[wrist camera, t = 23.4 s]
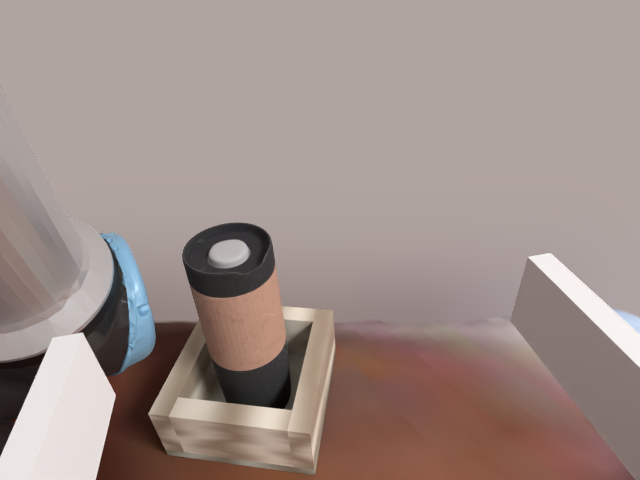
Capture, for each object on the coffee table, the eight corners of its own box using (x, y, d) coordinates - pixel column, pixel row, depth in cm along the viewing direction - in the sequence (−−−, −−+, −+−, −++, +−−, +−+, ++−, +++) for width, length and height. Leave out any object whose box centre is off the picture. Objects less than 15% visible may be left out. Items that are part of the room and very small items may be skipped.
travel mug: (232, 364, 50) (195, 221, 39) (297, 365, 50) (278, 220, 38) (216, 424, 44) (166, 275, 33) (289, 426, 43) (265, 274, 32)
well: (167, 454, 43) (148, 413, 39) (219, 341, 55) (208, 300, 51) (314, 475, 40) (310, 433, 36) (335, 351, 52) (333, 310, 48)
